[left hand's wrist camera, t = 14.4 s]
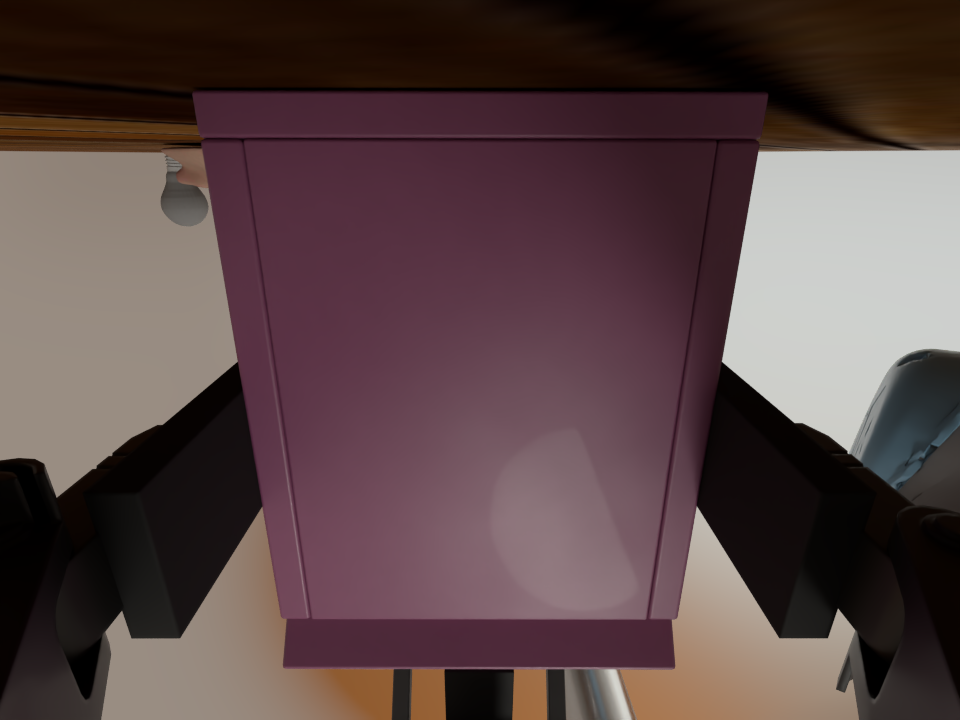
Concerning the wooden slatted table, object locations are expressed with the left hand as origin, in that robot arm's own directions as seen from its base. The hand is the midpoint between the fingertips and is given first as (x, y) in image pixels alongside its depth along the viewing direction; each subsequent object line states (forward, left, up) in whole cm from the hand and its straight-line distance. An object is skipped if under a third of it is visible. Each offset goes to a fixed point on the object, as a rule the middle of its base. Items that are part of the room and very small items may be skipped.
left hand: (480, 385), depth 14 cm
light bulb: (-21, +75, -7) cm, 79 cm away
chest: (-3, +2, -6) cm, 7 cm away
